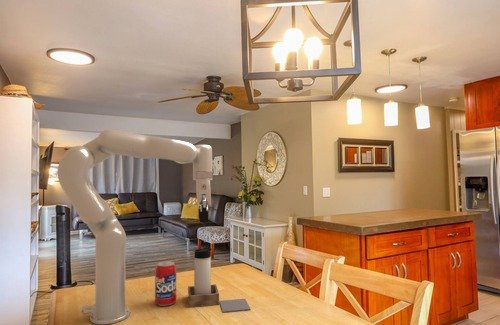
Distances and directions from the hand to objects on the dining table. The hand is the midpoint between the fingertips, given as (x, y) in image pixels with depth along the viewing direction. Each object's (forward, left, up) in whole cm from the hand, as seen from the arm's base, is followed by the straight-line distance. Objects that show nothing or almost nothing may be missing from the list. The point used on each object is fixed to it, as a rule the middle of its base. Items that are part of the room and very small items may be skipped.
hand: (203, 220), depth 128 cm
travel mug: (0, 0, -31) cm, 31 cm away
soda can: (-14, 0, -31) cm, 34 cm away
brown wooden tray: (0, 0, -31) cm, 31 cm away
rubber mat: (+11, -8, -31) cm, 34 cm away
